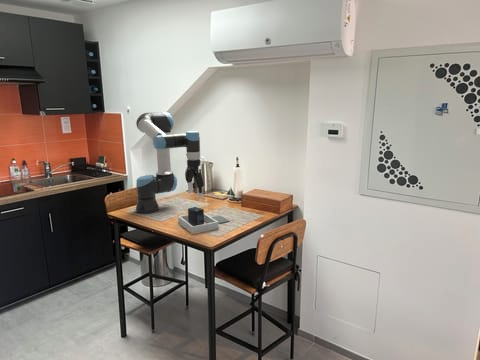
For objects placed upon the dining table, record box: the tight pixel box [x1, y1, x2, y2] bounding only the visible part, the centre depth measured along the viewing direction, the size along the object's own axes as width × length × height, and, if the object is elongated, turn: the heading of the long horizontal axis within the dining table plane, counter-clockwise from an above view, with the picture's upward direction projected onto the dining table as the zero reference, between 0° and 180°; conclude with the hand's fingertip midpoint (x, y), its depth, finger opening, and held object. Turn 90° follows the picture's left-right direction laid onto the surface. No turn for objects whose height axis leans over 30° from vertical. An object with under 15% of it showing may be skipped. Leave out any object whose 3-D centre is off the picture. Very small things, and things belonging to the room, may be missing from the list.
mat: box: [210, 214, 230, 225], centre depth 212 cm, size 12×10×1 cm
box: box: [187, 206, 205, 226], centre depth 202 cm, size 8×6×11 cm
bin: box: [177, 212, 220, 235], centre depth 203 cm, size 22×16×4 cm
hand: (195, 195), depth 199 cm, fingers open, 13 cm apart
